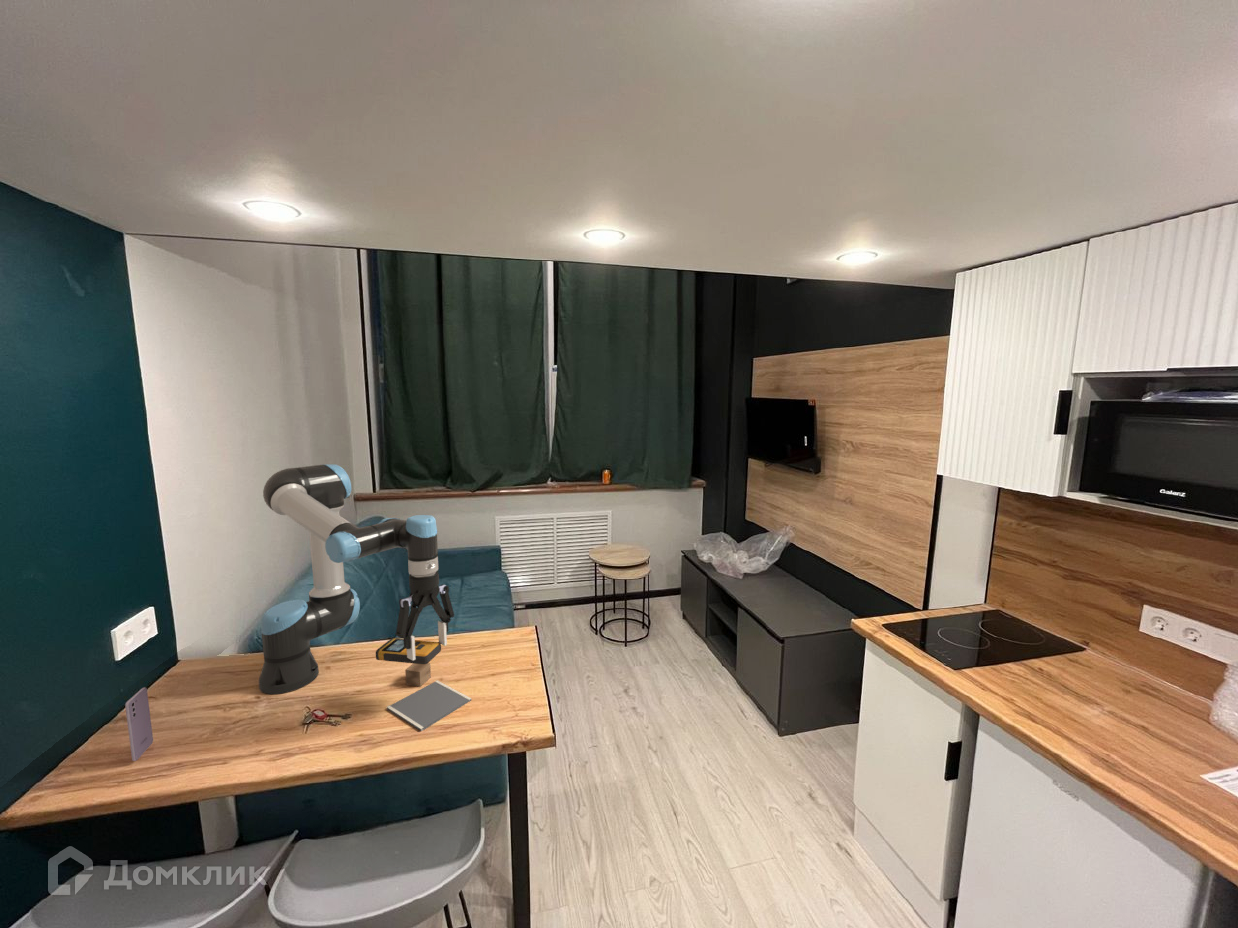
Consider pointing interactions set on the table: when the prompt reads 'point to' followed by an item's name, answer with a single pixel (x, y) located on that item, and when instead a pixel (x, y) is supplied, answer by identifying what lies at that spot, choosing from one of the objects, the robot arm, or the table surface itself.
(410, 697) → the mat
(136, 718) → the smartphone
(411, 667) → the walnut block
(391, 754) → the table surface
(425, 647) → the electronic device
